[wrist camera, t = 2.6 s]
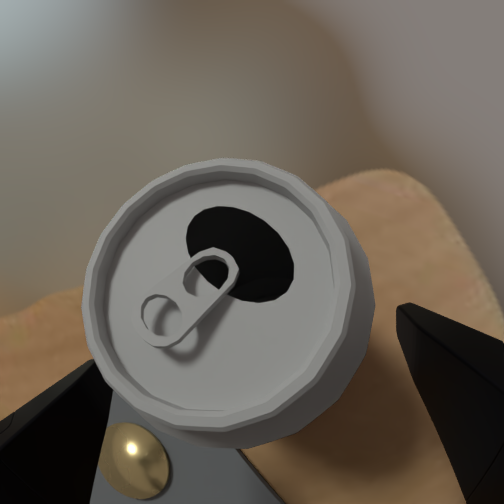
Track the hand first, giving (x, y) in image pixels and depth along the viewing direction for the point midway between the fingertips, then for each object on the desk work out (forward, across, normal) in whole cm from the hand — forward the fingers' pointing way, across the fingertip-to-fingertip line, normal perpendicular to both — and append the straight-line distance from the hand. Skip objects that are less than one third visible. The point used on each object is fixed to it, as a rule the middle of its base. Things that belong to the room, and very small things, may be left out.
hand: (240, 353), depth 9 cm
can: (+7, 0, +6) cm, 9 cm away
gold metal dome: (+2, +9, +9) cm, 13 cm away
